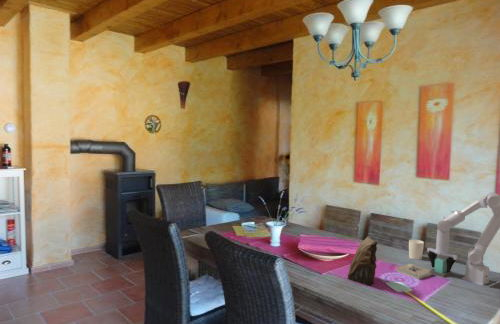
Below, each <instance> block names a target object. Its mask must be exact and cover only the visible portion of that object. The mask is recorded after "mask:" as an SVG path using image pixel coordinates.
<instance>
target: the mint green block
mask: <svg viewBox="0 0 500 324" xmlns="http://www.w3.org/2000/svg"><path fill="white" fill-rule="evenodd" d="M446 259H447V258H442V257H438V258H436V259H435V267H433V269H434V271H436V272H439V273H442V274H444V273H447V261H446Z"/></svg>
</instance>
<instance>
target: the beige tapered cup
mask: <svg viewBox="0 0 500 324" xmlns="http://www.w3.org/2000/svg"><path fill="white" fill-rule="evenodd" d="M424 244H425V242H424V241H423V240H419V239H408V258H409V259H411V260H422V259H423V254H424V246H425V245H424Z"/></svg>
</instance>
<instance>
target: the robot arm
mask: <svg viewBox="0 0 500 324" xmlns="http://www.w3.org/2000/svg"><path fill="white" fill-rule="evenodd" d="M488 207H489V208H490V209H491V211H492V213H493V215H492V217H491V218H490V220H489V221H488V224H487V225H486V226H485V228H484V230H483V231H482V233H481V234H480V236H479V238H478V240H477V241H476V242H475V243H474V245H473V246H472V247H470V248H469V249H468V250H467V259H466V261H465V262H466V263H465V273H464V274H465V275H464V276H462V277H461V279H462V280H465V281H467V282H471V283H474V284H476V285H480V286H484V285H486V284H488V283H490V272H491V271H490V267H489V266H487V265H485V263H484V256H485V254H486V252H487V249H488V247H489V246H490V244H491V243H492V241H493V239H494V237H495V236H497V235H496V234H497V233H498V231H499V230H500V194H498V193H496V192H490V193H488V194H487V195H484V196H481V197H480V198H478V199H476V200H475V201H474V202H471V204H469V205H467V206H465V207H464V208H463V209H461V210H455V211H454V210H453V211H451V213H449V214H448V215H447V216H444V217H443V218H442V219H439V220H438V222H437V224H436V227H437V228H436V229H437V231H436V232H437V233H436V242H435V248H432V247H427V249H426V252H428V253H427V256H428V258H429V260H430V261H429V262H430V264H431V268H434V267H435V259H437V256H442V257H444V258H445V257H446V258H445V259H446V261H447V272H450V271H452V270H451V269H452V268H453V265H454V263H455V262H456V261H457V260H458V259H459V258H458V257H459V256H458V255H457V254H454V253H451V252H449V250H450V249H449V248H450V237H451V235H450V230H451V228H455V226H458V225H459V224H460V223H462V222H465V219H466V217H467V216H469V215H470V214H472V213H474V212H475V211H477V210H479V209H482V208H483V209H486V208H487V209H488Z"/></svg>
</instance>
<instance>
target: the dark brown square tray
mask: <svg viewBox="0 0 500 324" xmlns="http://www.w3.org/2000/svg"><path fill="white" fill-rule="evenodd" d="M430 270H432V275H435V276H438V277H441V278H444V279H445V278H449V277H452V276H454V275H455V273H453V271H452V270H451V271H450V272H447V273H444V274H442V273H439V272H436V271H434V268H431V269H430Z"/></svg>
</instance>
